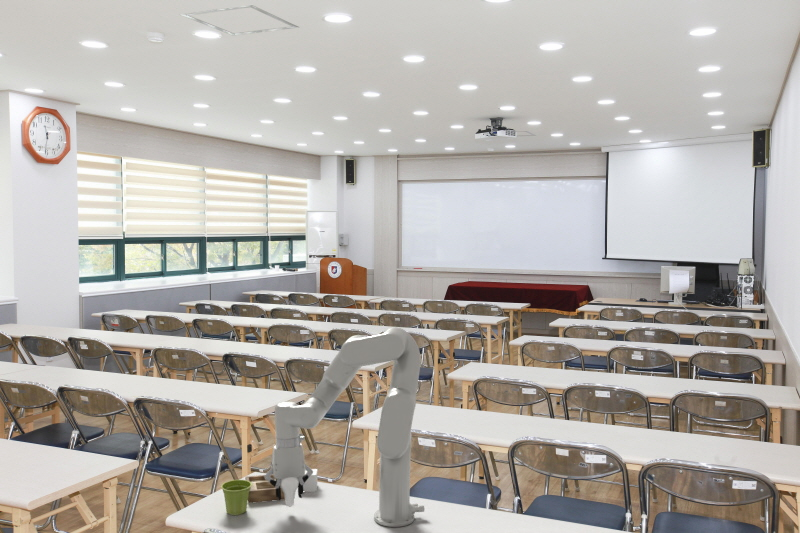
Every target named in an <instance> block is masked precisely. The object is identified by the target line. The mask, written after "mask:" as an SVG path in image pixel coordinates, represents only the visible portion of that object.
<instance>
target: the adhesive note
mask: <svg viewBox="0 0 800 533" xmlns="http://www.w3.org/2000/svg"><path fill="white" fill-rule="evenodd" d="M311 469H312V470H313V474H312V475H311V476H310V477H309V478H308V479H307V481H306V482H305V483H304V485H303V491H306V492H305V493H316V492H317V489H318V468H311ZM306 473H307V471H306V470H305V474H306ZM303 476H304V475H303ZM303 476H301V477H303Z"/></svg>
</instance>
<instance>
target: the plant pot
mask: <svg viewBox="0 0 800 533" xmlns="http://www.w3.org/2000/svg"><path fill="white" fill-rule="evenodd" d="M251 486H252V483H251V482H249V481H247V480H245V479H232V480H228V481H226V482H223V483H222V484H221V486H220V488H221V490H222V492H223V495H224V501H225V502H224V503H225V508H226V509H225V510H226V513H227V515H229V514H230V515H231V516H240V515H242V514H243V513H246V511H247V508H248V495H249V491H250V487H251Z"/></svg>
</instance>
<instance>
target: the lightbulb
mask: <svg viewBox="0 0 800 533" xmlns="http://www.w3.org/2000/svg"><path fill="white" fill-rule="evenodd" d="M298 485H299V480H298V477H289V478H285V479H282V480H281V483H280V487H281V489H282V491H283V492H284V496H285V506H286V507H288V508H292V507H293V506H294V505H295V499H296V498H295V497H296V496H295V495H296V491H297V490H298Z"/></svg>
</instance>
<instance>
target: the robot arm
mask: <svg viewBox="0 0 800 533" xmlns="http://www.w3.org/2000/svg"><path fill="white" fill-rule="evenodd" d="M420 352H421V351H420V348H419V346H418V344H417V342H416V340H415V339H414V337H413V336H412V335H411V334H410V333H409V332H408V331H407V330H405V329H403V328H400V327H397V326H395V327H394V326H393V327H390V328H388V329H386V330H385V331H384V332H383V333H379V334H376V335H371V336H367V337H366V336H363V335H359V334H358V335H357V334H355V335H352V336H350V337H348V339H347V340H345V341H344V342H343V344H341V347H340V349H339V351H338V353H337V354H336V355H335V357H334V358H333V359H332V361H331V362H330V364H329V365H328V366H327V368H326V369H325V370H324V373H323V374H322V379H321V381H320V382H319V384H318V385H317V386H316V388H315V389H314V390H313V392H312V394H310V396H309V398H308V399H307V400H306V401H305V402H304V403H303V404H301V405H298V403H297V402H294V401H282V402H279V403H276V404H275V406H274V418H275V419H274V423H275V424H274V428H275V445H274V446H273V448H272V458H271V467H270V468H269V470H268V471H267V472H266V474H264V475H265V476H264V477H265V479H266V480H267V481H268V482H270V483H271V484H272V485H273V486H274V487H275V488H276V497H278V500H277V501H279V502H281V501H282V500H281V488H280V483H281V480H282V479H285V478H289V477H298V480H299V485H298V487H297V494H298V498H299V499H302V498H303V496H302V495H304V492H303V485H304V483H305V482H306V481H307V479H308V478H309V477H310V476H311V475H312V474H313V470H312V469H313V468H311V467H310V466H308V465H307V464H306V460H305V453H304V447H303V444H302V443H301V442H303V441H305V436H304V435H300V434H301V433H300V429H306V430H309V429H314V428H316V427H317V426H318V425H320V424H319V423H320V422H321V421H322V420H323V418H324V417H325V416H326V414H327V413H328V412H329V410H330V409H331V407H332V406H333V405H334V403H335V402H336V400H337V399H338V398H339V396H340V395H341V394H342V393H343V392H344V391H345V390H346V389H347V387H348V386H349V385H350V383H351V382H352V381H353V379H354V378H355V376H356V375H357V374H358V372H359V371H360V370H361V368H362V367H366V366H372V365H376V364H383V363H388V362H392V361H393V363H392V370H391V377H390V384H389V388H388V391H387V393H386V396H385V398H384V401H383V404H382V409H381V412H380V418H379V419H380V421H379V425H378V430H377V437H376V447H377V449H378V452H379V454H380V456H379V486H378V487H379V490H378V491H379V496H378V498H379V499H378V500H379V505H378V510H377V511H376V512H375V513H374V515H373V519H374V521H375V523H377V524H379V525H381V526H384V527H388V528H389V527H390V528H391V527H392V528H400V527H406V526H408V525H410V524H412V523H413V522H414V521H415V513H424V512H425V505H419V504H418V503H410V499H411V498H410V495H411V494H410V492H411V454H412V453H411V452H412V451H411V450H412V427H413V426H412V424H413V419H414V414H415V409H416V405H417V404H416V403H417V393H418V392H417V391H418V386H419V377H420V371H421V353H420ZM305 470H306V471H307V473H306V474H305ZM272 474H273V475H274V478H275V479H276V480H274V479H272V478H271V477H270V476H271V475H272ZM303 475H304V476H303ZM301 476H303V477H301Z"/></svg>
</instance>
